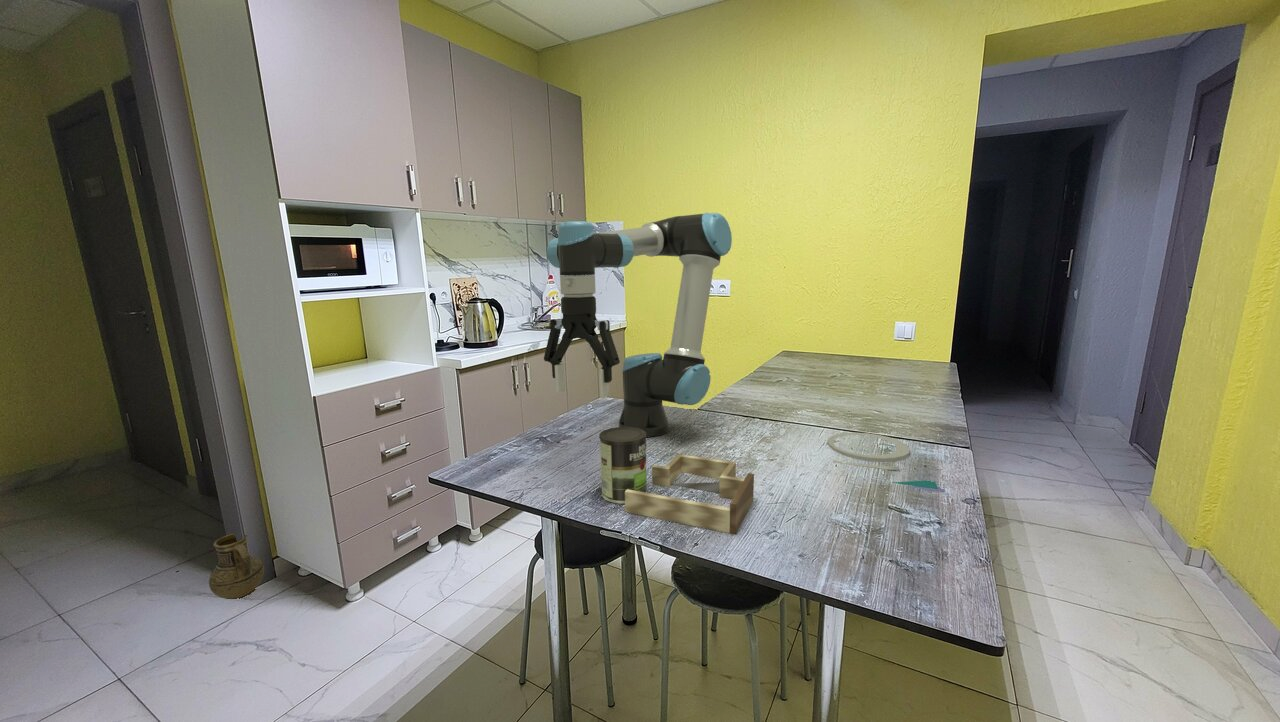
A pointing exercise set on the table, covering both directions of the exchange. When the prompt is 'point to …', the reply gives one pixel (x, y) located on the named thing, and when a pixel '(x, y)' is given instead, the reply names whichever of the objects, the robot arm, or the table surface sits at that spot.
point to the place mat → (884, 459)
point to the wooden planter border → (692, 510)
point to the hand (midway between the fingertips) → (582, 394)
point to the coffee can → (622, 462)
